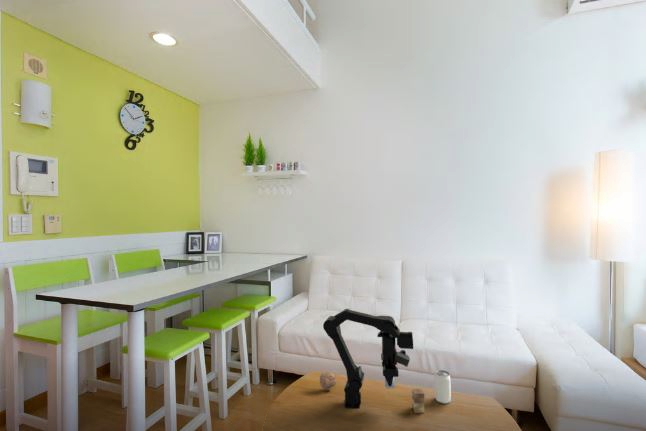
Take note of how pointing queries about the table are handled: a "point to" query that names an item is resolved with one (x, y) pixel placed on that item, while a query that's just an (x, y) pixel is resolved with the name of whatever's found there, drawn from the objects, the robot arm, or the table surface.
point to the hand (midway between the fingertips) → (389, 383)
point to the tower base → (418, 407)
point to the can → (442, 387)
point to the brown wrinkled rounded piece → (327, 380)
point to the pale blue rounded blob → (388, 385)
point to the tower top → (418, 395)
